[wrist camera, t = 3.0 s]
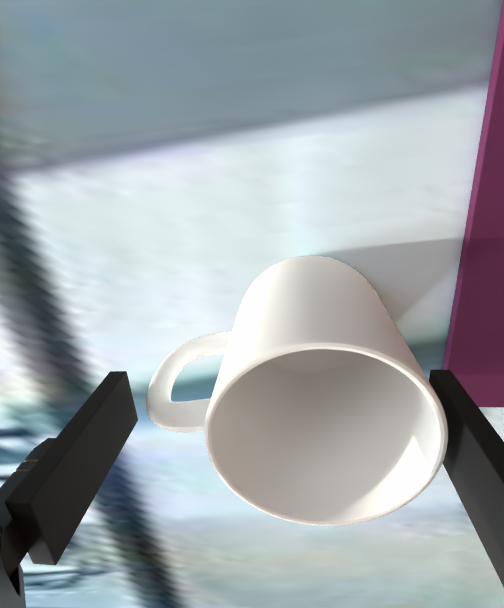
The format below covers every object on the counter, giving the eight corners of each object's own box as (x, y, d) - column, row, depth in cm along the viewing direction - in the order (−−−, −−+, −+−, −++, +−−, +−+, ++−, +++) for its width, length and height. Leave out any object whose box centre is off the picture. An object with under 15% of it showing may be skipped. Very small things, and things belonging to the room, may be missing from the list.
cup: (379, 372, 23) (440, 527, 13) (196, 382, 24) (138, 527, 15) (379, 243, 19) (459, 331, 10) (168, 266, 21) (74, 359, 12)
